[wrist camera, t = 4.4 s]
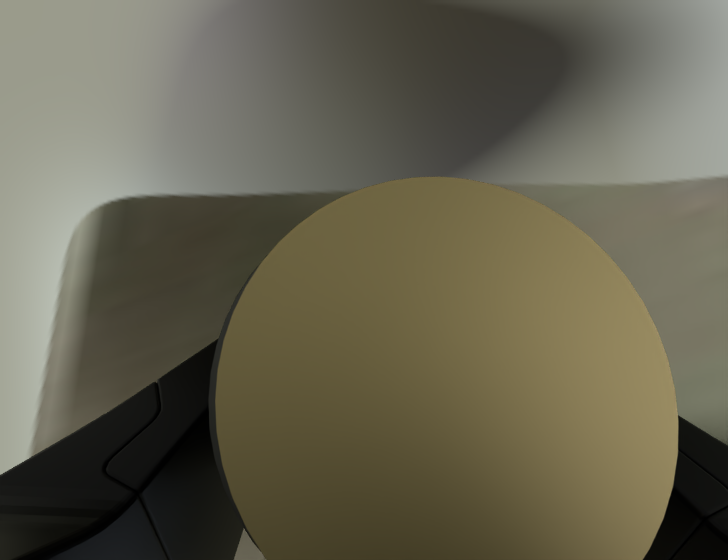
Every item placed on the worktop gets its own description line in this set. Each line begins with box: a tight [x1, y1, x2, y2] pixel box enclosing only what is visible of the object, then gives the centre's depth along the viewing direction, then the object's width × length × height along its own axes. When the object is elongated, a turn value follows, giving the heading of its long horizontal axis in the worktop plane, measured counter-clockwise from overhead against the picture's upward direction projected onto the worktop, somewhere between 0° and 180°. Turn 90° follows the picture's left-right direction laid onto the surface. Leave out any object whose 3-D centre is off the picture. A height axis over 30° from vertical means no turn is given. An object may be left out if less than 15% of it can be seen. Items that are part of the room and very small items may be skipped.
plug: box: [208, 177, 678, 560], centre depth 9 cm, size 4×4×12 cm
